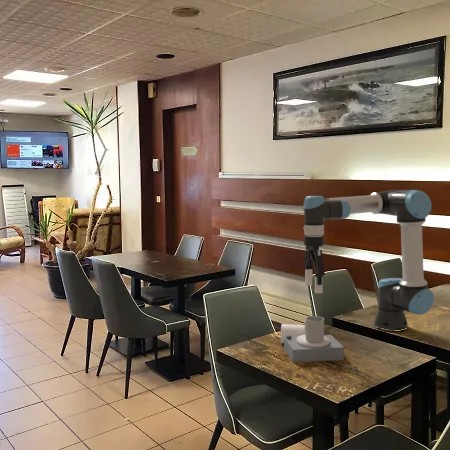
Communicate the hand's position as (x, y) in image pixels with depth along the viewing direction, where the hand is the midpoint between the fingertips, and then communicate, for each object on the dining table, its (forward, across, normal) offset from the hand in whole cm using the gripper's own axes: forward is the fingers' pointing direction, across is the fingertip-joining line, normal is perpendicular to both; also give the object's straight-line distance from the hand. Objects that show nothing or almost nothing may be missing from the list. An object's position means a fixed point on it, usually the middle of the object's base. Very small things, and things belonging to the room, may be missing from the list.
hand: (313, 289), depth 192 cm
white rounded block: (+27, -16, -4) cm, 31 cm away
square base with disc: (+27, 0, 0) cm, 27 cm away
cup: (+21, 0, 0) cm, 21 cm away
